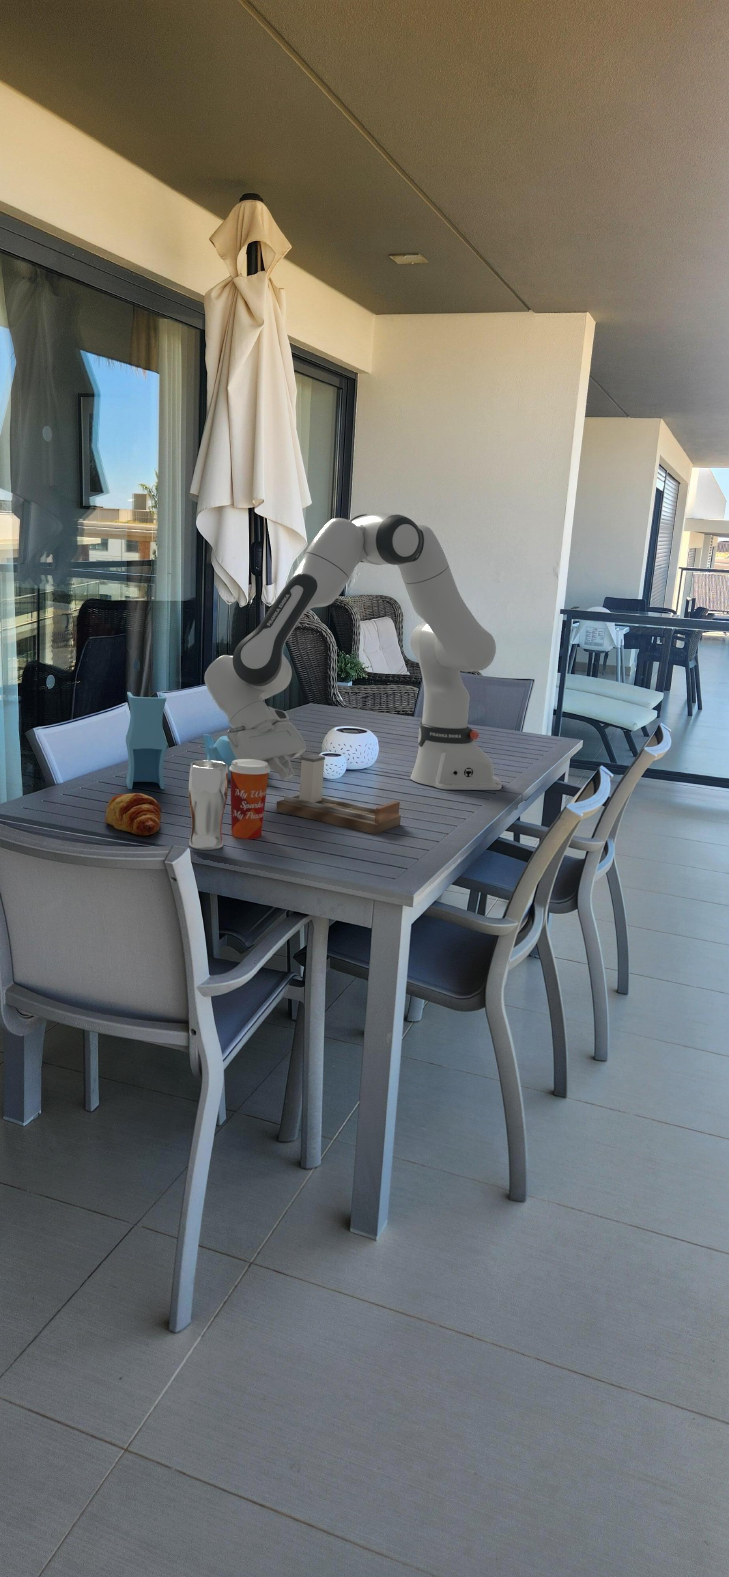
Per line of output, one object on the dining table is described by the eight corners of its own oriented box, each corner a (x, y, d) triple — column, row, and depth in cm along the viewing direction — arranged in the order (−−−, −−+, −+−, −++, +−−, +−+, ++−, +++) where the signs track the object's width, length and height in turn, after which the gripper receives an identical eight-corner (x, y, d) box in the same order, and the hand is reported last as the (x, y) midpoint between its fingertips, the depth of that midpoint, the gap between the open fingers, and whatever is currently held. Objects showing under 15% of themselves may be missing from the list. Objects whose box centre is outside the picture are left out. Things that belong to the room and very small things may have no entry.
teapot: (272, 784, 230) (275, 738, 228) (207, 783, 226) (209, 736, 224) (262, 769, 244) (264, 726, 242) (200, 768, 240) (202, 724, 238)
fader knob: (298, 800, 207) (301, 756, 205) (309, 797, 211) (312, 754, 208) (311, 803, 205) (314, 759, 203) (322, 800, 209) (325, 756, 207)
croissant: (102, 829, 197) (83, 796, 193) (146, 803, 200) (128, 770, 197) (138, 858, 179) (118, 822, 176) (185, 829, 183) (166, 793, 179)
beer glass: (217, 852, 176) (221, 770, 172) (180, 847, 177) (183, 765, 174) (230, 842, 182) (234, 762, 179) (194, 837, 184) (197, 758, 180)
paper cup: (232, 841, 183) (235, 767, 180) (221, 830, 190) (224, 758, 187) (272, 839, 186) (276, 766, 183) (260, 828, 193) (264, 758, 190)
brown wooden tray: (276, 810, 207) (277, 787, 206) (303, 802, 215) (304, 780, 214) (375, 834, 195) (377, 809, 194) (400, 824, 204) (402, 801, 202)
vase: (160, 780, 225) (163, 692, 220) (165, 789, 218) (167, 698, 213) (124, 780, 222) (126, 691, 218) (128, 789, 215) (130, 697, 210)
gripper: (232, 720, 202) (269, 775, 199) (290, 711, 219) (324, 761, 217) (214, 738, 205) (250, 793, 203) (273, 727, 222) (306, 778, 220)
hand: (289, 776), depth 210 cm, fingers closed
